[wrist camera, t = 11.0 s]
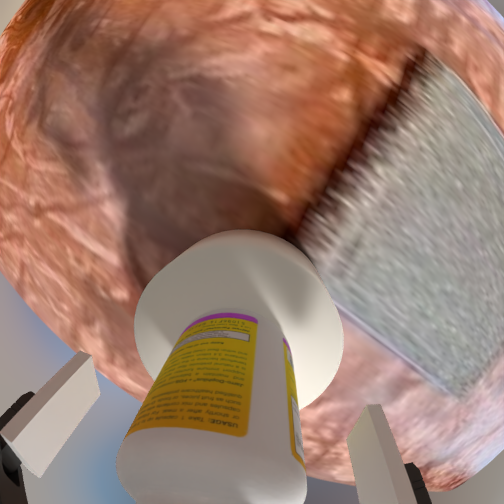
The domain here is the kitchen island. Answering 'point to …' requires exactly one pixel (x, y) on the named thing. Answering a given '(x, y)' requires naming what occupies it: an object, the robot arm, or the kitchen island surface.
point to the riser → (245, 302)
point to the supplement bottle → (219, 419)
